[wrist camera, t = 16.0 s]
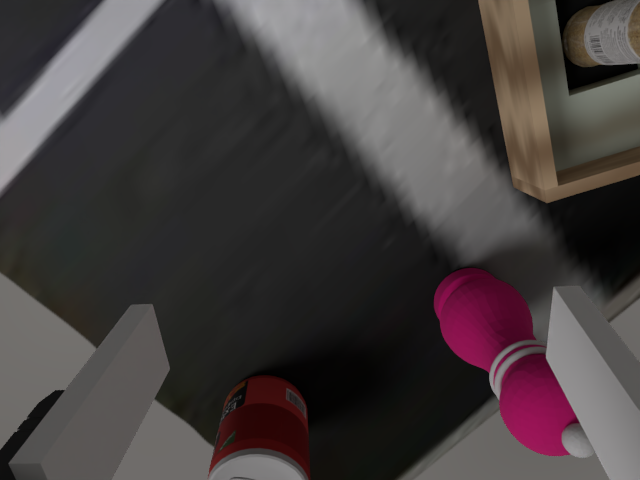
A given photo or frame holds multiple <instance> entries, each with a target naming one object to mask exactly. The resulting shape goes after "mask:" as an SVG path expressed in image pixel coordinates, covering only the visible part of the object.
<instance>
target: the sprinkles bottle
mask: <svg viewBox="0 0 640 480" xmlns="http://www.w3.org/2000/svg"><path fill="white" fill-rule="evenodd" d="M562 46H563V50H564V53H565V54H566V57H567V58H568V59H569V60H570V61H571V62H572V63H574V64H575V65H578V66H581V67H592V66H596V65H602V64H603V65H619V64H636V63H640V0H614V1H611V2H608V3H606V4H602V5H599V6H588V7H585V8H584V9H582V10H579V11H578V12H577V13H575V14H574V15H573V16H572V17H571V18H570V20H569V21H568V22H567V24H566V26H565V28H564V32H563V35H562Z"/></svg>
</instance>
